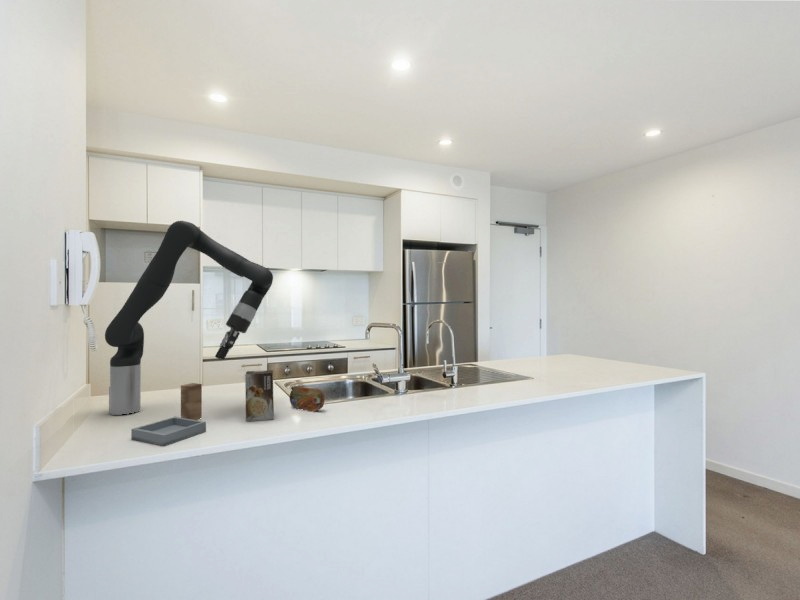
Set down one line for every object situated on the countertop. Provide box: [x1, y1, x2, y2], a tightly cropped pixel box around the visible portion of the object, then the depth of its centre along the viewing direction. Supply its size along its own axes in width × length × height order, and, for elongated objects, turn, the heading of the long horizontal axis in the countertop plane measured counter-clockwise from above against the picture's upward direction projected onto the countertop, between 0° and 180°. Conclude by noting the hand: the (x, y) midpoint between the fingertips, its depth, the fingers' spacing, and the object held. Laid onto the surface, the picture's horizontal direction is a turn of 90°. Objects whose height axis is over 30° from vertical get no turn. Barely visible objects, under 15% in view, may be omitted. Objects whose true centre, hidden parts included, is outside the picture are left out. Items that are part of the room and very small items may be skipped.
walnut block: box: [180, 382, 203, 421], centre depth 140 cm, size 4×4×12 cm
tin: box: [289, 386, 325, 412], centre depth 153 cm, size 15×3×8 cm, turn 62°
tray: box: [130, 416, 207, 447], centre depth 124 cm, size 14×14×3 cm
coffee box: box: [244, 369, 275, 422], centre depth 142 cm, size 9×6×16 cm
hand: (219, 358), depth 144 cm, fingers open, 8 cm apart
